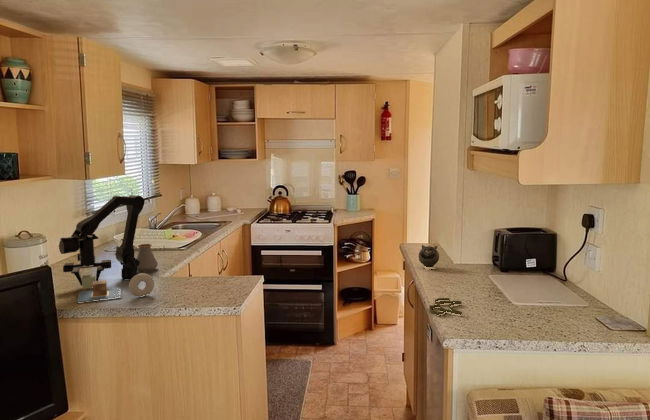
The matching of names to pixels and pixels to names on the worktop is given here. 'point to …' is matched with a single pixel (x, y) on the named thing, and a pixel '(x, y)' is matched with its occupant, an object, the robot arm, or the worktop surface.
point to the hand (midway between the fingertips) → (89, 284)
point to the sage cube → (88, 281)
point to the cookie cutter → (444, 308)
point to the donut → (139, 278)
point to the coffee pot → (145, 258)
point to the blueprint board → (89, 296)
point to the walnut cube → (99, 288)
